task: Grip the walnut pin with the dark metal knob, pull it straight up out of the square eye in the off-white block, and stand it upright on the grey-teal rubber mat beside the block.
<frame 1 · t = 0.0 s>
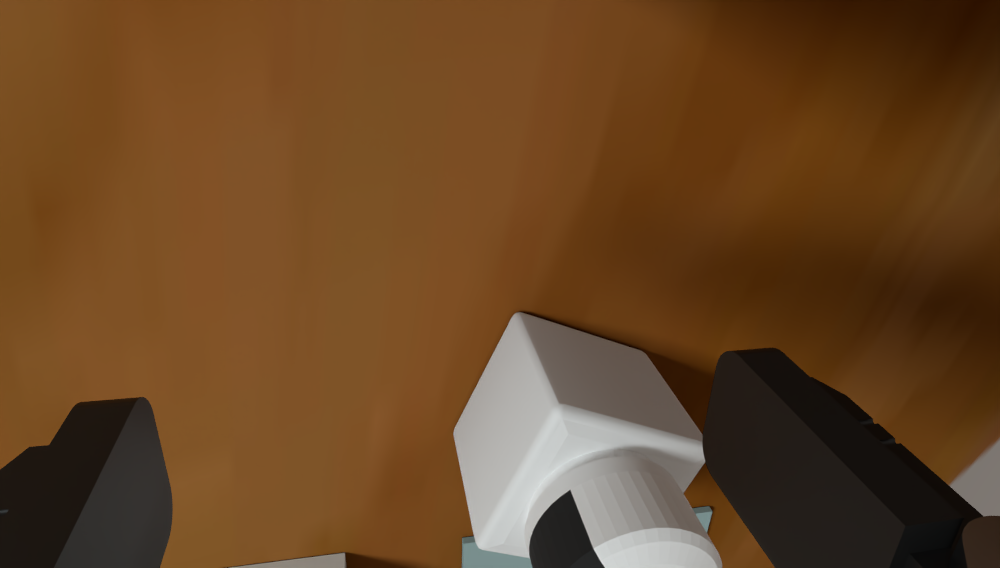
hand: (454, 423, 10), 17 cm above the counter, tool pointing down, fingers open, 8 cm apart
medicine bottle: (547, 388, 32), on the counter
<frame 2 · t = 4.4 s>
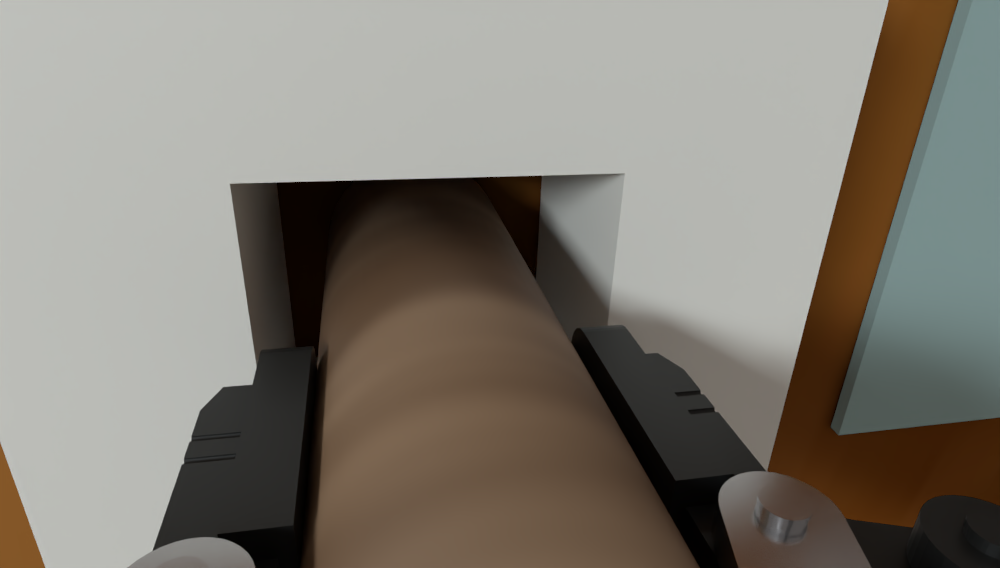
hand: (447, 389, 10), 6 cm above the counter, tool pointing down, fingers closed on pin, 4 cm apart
eye block: (415, 240, 16), on the counter
pin: (461, 445, 9), in the eye block, touching gripper
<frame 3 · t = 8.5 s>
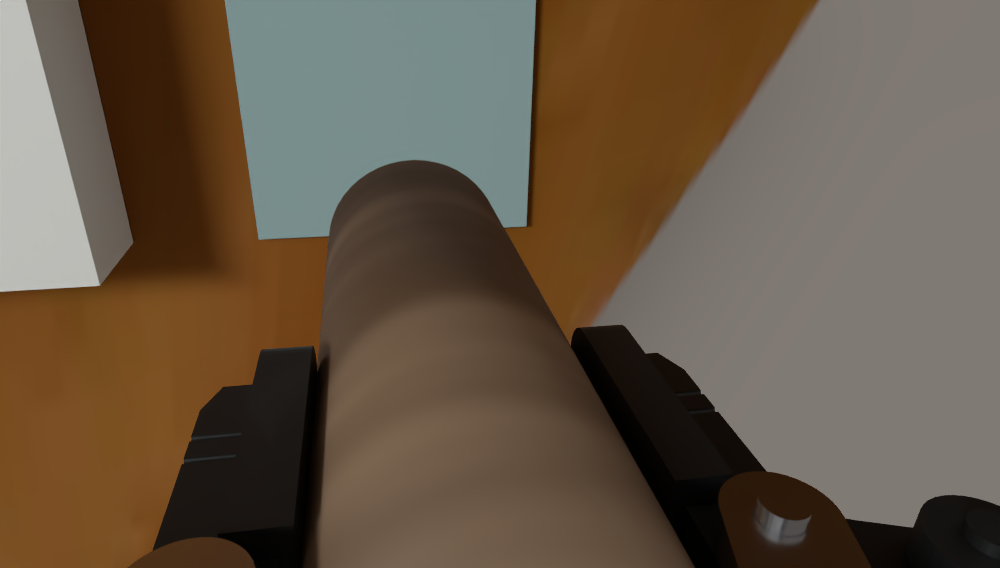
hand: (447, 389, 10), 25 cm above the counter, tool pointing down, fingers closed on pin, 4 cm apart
pin: (460, 448, 9), point 27 cm above the counter, touching gripper
mat: (390, 95, 33), on the counter
when the fingers open (8 cm above the counter, at t = 12.6 s): pin drops 2 cm, resting on mat.
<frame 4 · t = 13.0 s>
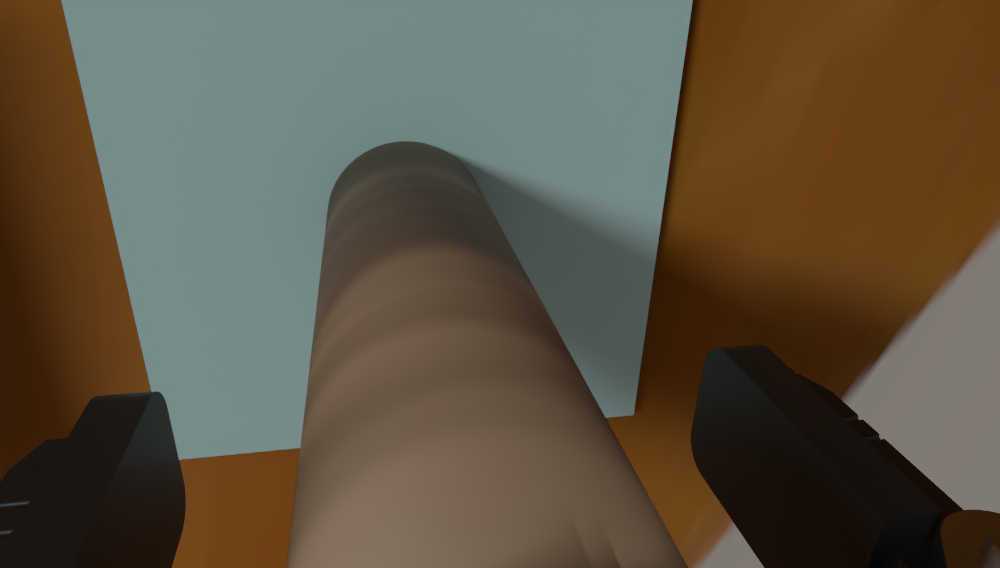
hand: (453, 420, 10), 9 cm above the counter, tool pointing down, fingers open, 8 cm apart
pin: (440, 381, 11), on the mat
mat: (408, 212, 18), on the counter
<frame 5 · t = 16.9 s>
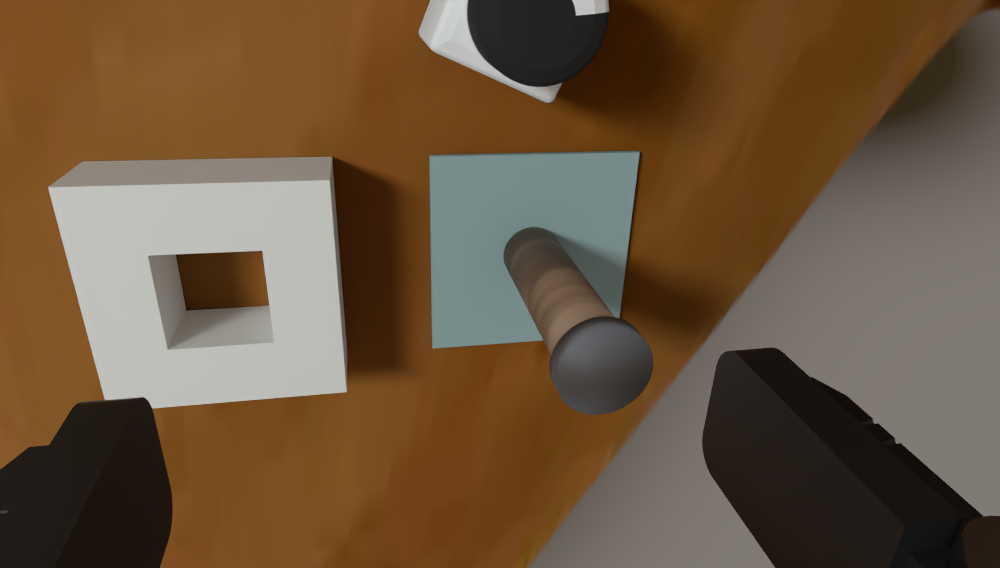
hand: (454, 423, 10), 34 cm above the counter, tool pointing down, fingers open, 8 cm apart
eye block: (228, 266, 43), on the counter
pin: (562, 303, 40), on the mat
medicine bottle: (494, 2, 40), on the counter
mat: (531, 251, 47), on the counter
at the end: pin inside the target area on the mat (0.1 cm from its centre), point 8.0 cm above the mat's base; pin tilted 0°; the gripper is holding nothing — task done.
